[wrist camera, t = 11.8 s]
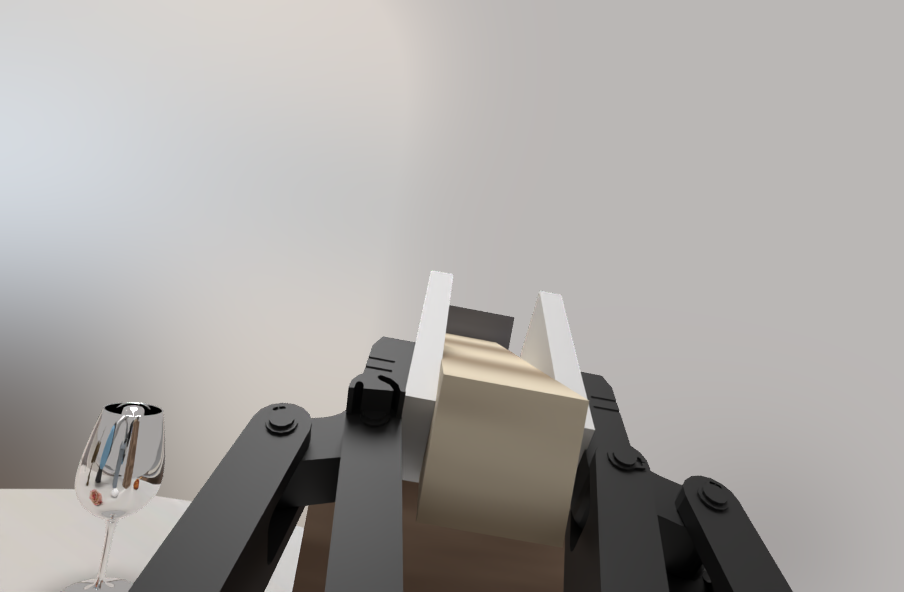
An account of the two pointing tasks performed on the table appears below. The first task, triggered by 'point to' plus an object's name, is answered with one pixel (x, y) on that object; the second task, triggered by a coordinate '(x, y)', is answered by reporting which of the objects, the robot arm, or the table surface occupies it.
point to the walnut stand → (440, 556)
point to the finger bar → (498, 438)
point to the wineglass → (119, 475)
